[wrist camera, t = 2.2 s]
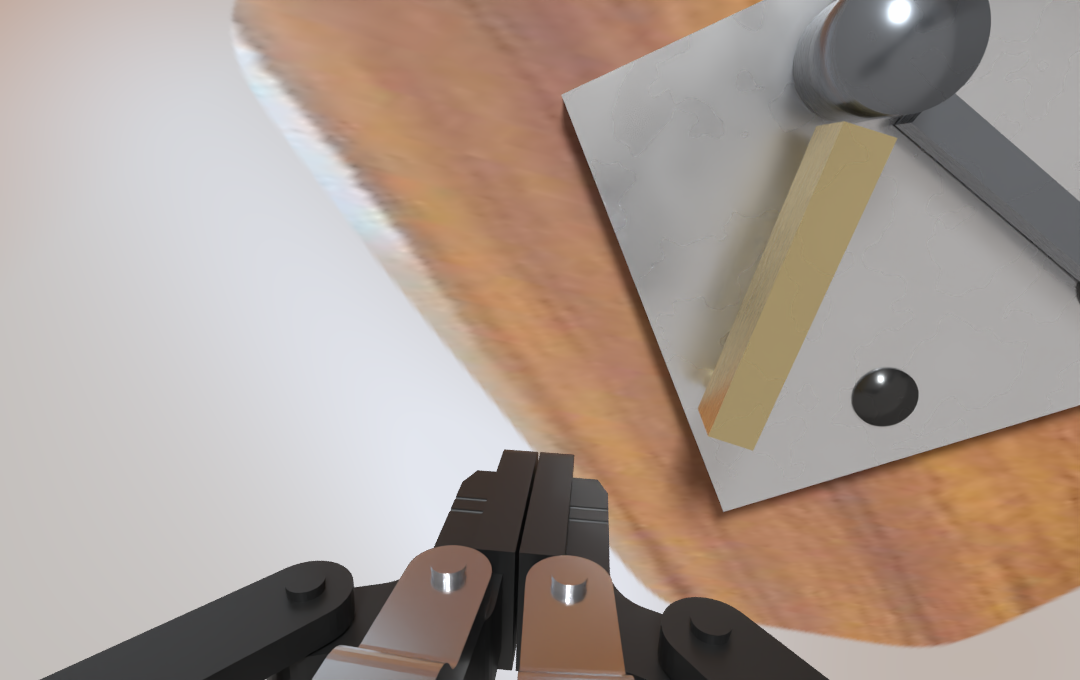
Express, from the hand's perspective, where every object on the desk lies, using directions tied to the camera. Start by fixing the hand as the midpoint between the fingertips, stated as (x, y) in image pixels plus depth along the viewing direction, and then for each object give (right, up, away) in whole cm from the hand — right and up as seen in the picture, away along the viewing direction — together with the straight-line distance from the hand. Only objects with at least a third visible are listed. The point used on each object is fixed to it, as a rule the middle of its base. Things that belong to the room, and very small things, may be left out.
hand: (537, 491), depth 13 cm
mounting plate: (+12, +7, +10) cm, 18 cm away
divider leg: (+8, +6, +9) cm, 14 cm away
